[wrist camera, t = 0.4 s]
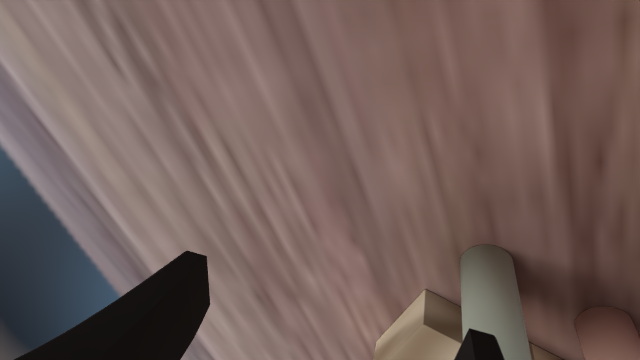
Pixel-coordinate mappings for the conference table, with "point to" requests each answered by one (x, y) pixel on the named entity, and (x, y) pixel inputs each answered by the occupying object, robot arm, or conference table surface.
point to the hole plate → (430, 333)
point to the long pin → (493, 299)
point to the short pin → (607, 334)
